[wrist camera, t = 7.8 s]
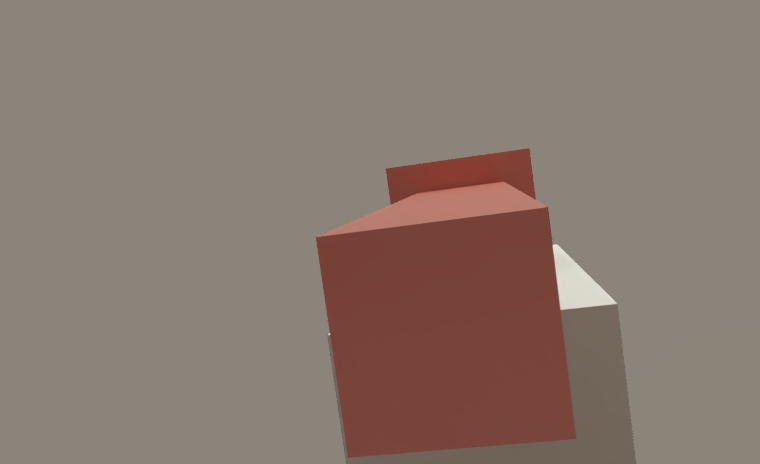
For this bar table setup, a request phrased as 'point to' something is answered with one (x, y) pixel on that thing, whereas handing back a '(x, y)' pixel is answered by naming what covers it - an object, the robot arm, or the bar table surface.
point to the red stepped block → (448, 312)
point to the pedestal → (587, 386)
